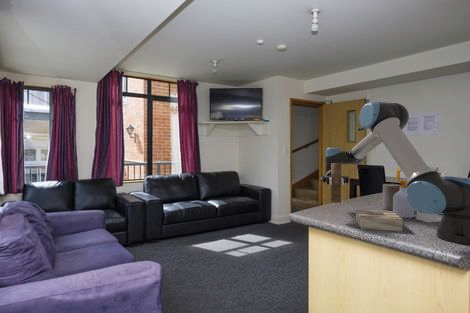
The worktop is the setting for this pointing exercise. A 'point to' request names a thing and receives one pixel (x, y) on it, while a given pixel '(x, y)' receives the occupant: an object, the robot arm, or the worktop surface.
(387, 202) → the pillar candle
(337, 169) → the peg
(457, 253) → the worktop surface
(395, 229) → the socket block
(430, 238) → the worktop surface
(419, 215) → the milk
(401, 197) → the soap bottle
